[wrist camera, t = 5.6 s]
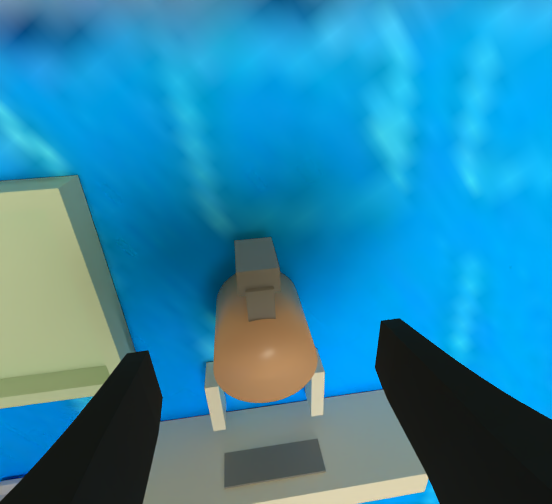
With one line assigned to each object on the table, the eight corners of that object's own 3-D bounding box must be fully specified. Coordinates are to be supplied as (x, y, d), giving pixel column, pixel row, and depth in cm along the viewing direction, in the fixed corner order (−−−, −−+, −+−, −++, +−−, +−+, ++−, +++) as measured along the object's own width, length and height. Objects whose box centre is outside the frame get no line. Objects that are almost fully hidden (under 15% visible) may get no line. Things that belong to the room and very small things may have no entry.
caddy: (221, 338, 21) (220, 409, 16) (204, 232, 17) (197, 286, 13) (298, 328, 21) (316, 395, 17) (296, 223, 18) (319, 272, 13)
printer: (144, 442, 24) (121, 545, 19) (118, 374, 21) (82, 474, 16) (383, 406, 26) (424, 491, 21) (395, 338, 22) (446, 417, 17)
